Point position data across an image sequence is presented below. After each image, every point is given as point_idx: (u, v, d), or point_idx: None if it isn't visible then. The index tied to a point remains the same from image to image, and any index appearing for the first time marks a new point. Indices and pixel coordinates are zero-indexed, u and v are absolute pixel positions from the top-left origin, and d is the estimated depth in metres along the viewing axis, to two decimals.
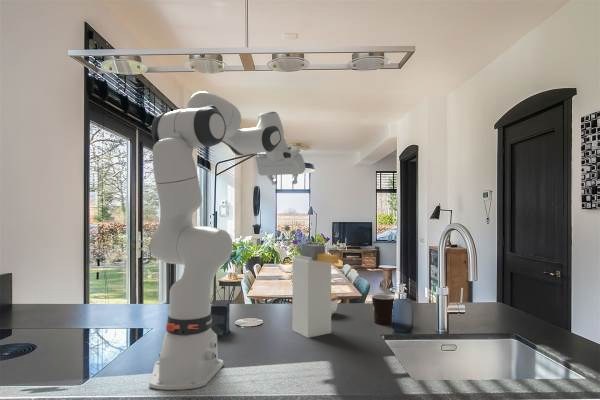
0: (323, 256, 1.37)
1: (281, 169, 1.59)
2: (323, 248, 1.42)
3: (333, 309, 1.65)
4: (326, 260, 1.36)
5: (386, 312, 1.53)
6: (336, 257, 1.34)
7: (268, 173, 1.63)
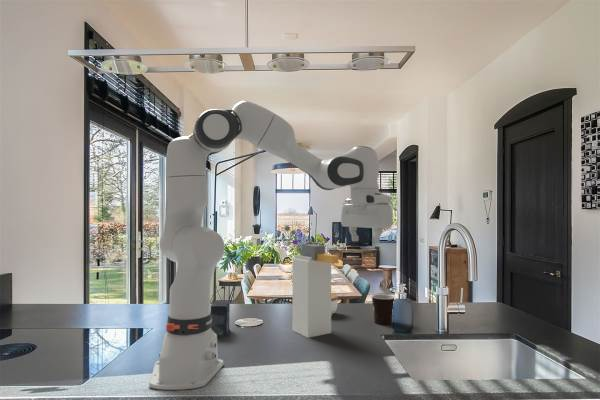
0: (323, 256, 1.37)
1: (363, 220, 1.25)
2: (323, 248, 1.42)
3: (333, 309, 1.65)
4: (326, 260, 1.36)
5: (386, 312, 1.53)
6: (336, 257, 1.34)
7: (349, 224, 1.30)
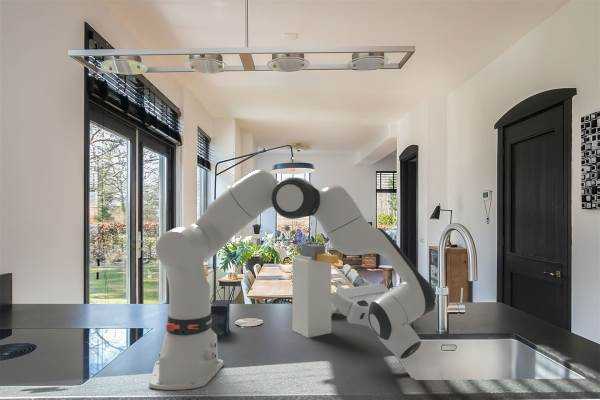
0: (323, 256, 1.37)
1: (359, 291, 1.21)
2: (323, 248, 1.42)
3: (333, 309, 1.65)
4: (326, 260, 1.36)
5: None
6: (336, 257, 1.34)
7: (373, 285, 1.26)
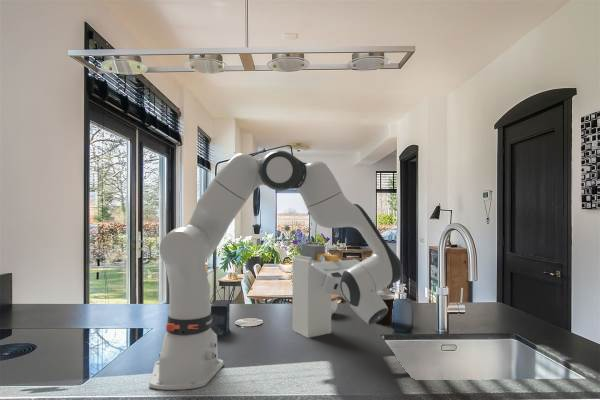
0: None
1: (335, 264, 1.31)
2: (323, 248, 1.42)
3: (333, 309, 1.65)
4: (326, 260, 1.36)
5: None
6: (336, 257, 1.34)
7: (348, 261, 1.36)
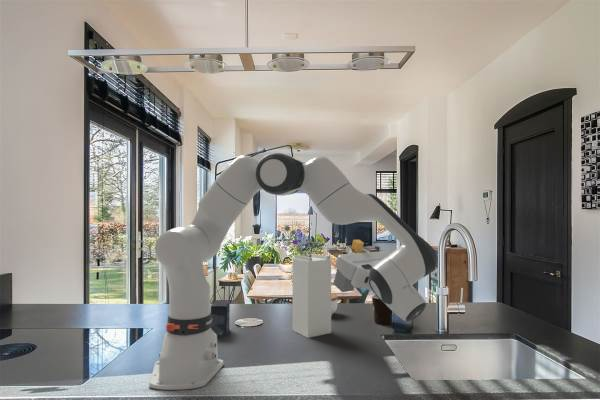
0: None
1: (364, 256, 1.20)
2: None
3: (333, 309, 1.65)
4: (354, 252, 1.24)
5: (386, 312, 1.53)
6: (358, 240, 1.25)
7: (377, 252, 1.24)
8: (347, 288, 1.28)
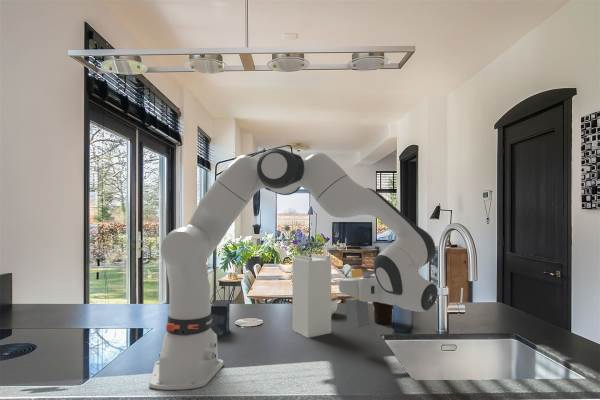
0: None
1: None
2: None
3: (333, 309, 1.65)
4: None
5: (386, 312, 1.53)
6: None
7: None
8: (362, 323, 1.21)
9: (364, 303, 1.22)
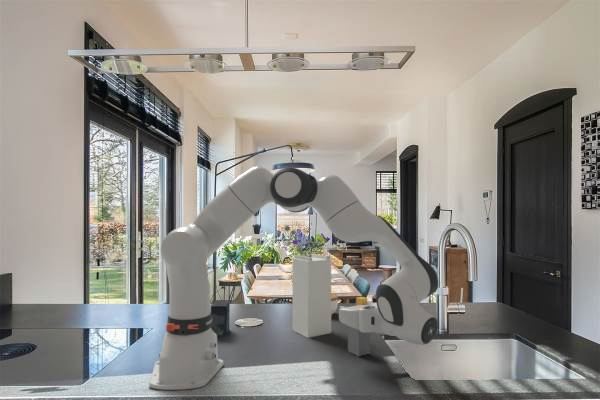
0: None
1: (365, 306, 1.19)
2: None
3: (333, 309, 1.65)
4: None
5: None
6: (361, 297, 1.23)
7: None
8: (363, 352, 1.21)
9: None
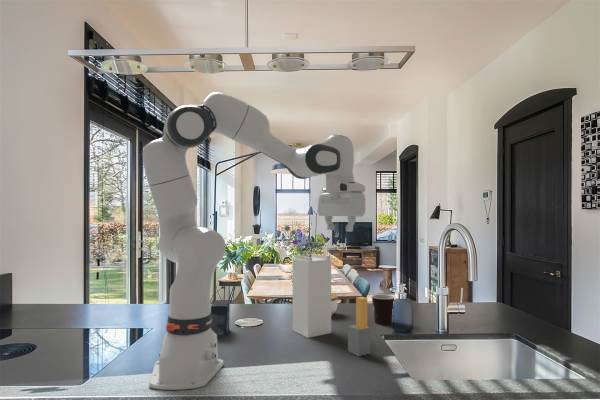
0: (357, 315, 1.22)
1: (337, 208, 1.26)
2: None
3: (333, 309, 1.65)
4: (359, 310, 1.21)
5: (386, 312, 1.53)
6: (361, 297, 1.23)
7: (325, 213, 1.31)
8: (363, 352, 1.21)
9: (366, 332, 1.22)
